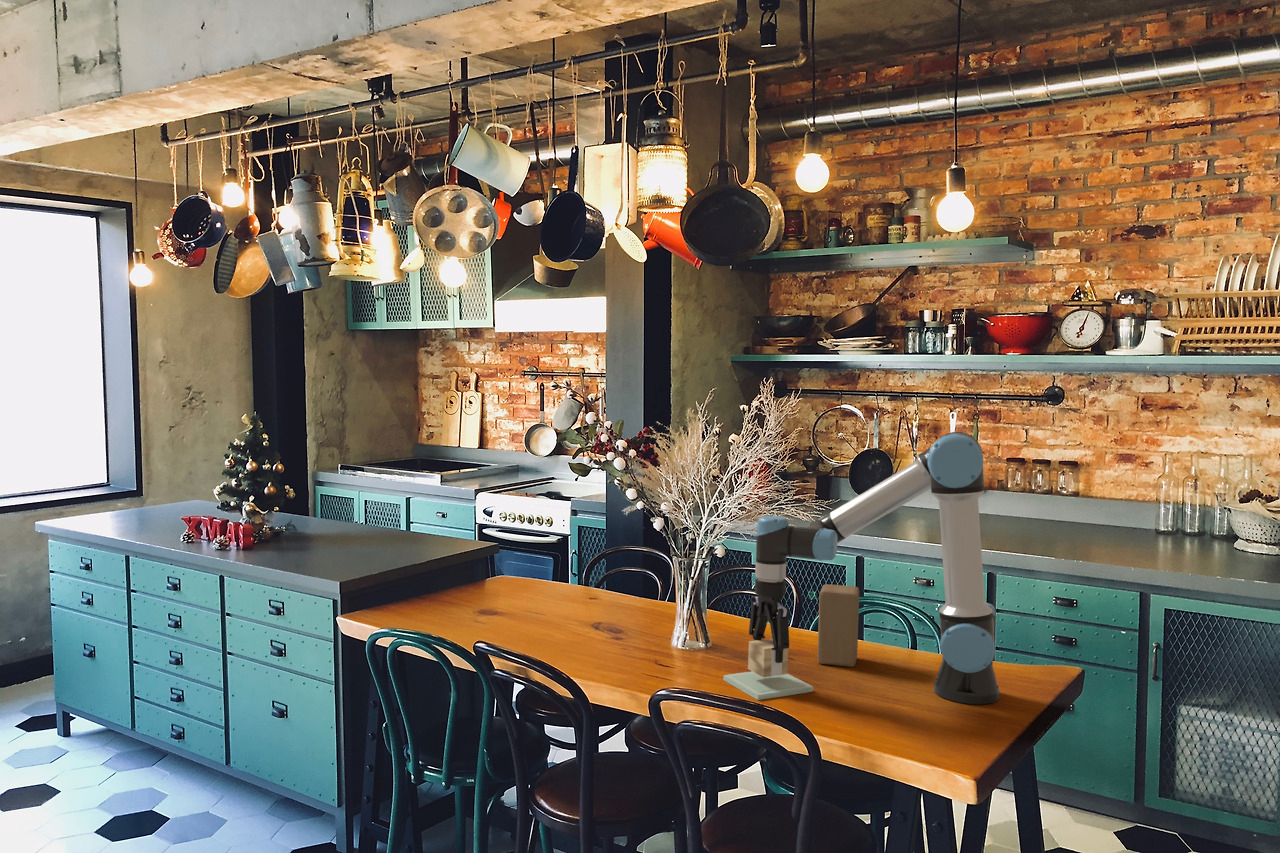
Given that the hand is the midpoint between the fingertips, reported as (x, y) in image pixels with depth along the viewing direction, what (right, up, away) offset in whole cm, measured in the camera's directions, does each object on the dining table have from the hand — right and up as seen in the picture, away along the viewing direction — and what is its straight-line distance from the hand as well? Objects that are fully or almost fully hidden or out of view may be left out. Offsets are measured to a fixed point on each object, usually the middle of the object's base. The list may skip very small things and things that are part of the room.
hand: (767, 670), depth 234 cm
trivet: (0, -4, 0) cm, 4 cm away
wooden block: (+22, -3, +22) cm, 31 cm away
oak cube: (0, 0, 0) cm, 0 cm away
